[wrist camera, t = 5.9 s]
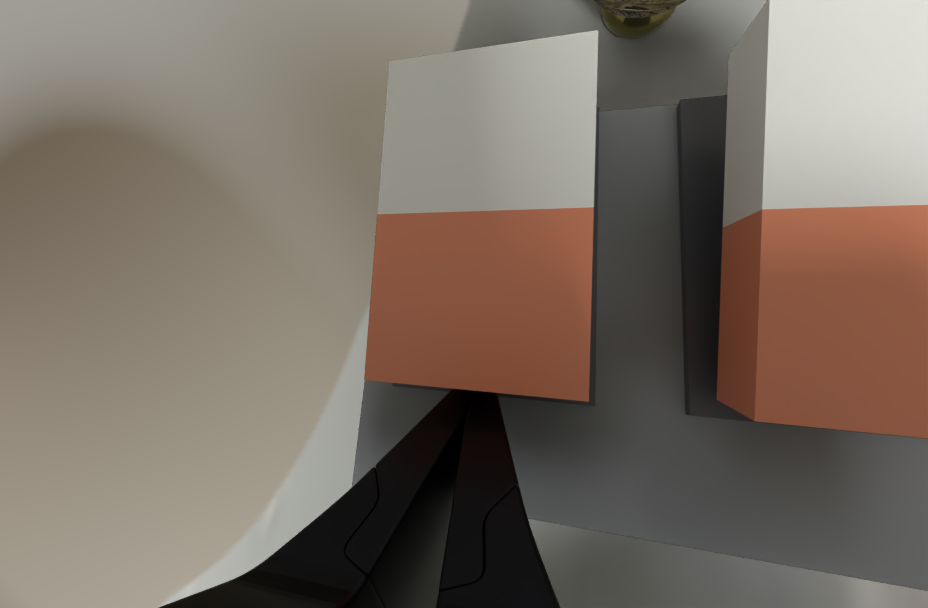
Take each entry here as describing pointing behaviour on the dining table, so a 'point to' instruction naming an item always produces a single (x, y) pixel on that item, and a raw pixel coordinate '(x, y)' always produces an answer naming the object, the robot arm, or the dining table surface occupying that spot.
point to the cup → (636, 15)
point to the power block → (684, 392)
